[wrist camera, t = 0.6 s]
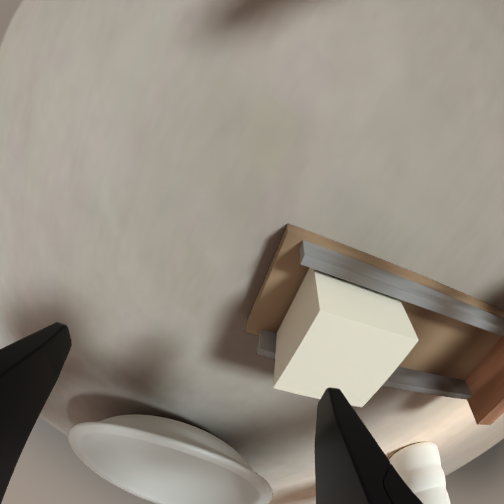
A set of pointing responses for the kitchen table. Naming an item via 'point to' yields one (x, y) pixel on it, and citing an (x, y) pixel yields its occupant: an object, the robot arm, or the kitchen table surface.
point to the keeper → (340, 339)
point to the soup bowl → (167, 461)
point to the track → (417, 309)
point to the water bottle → (422, 472)
